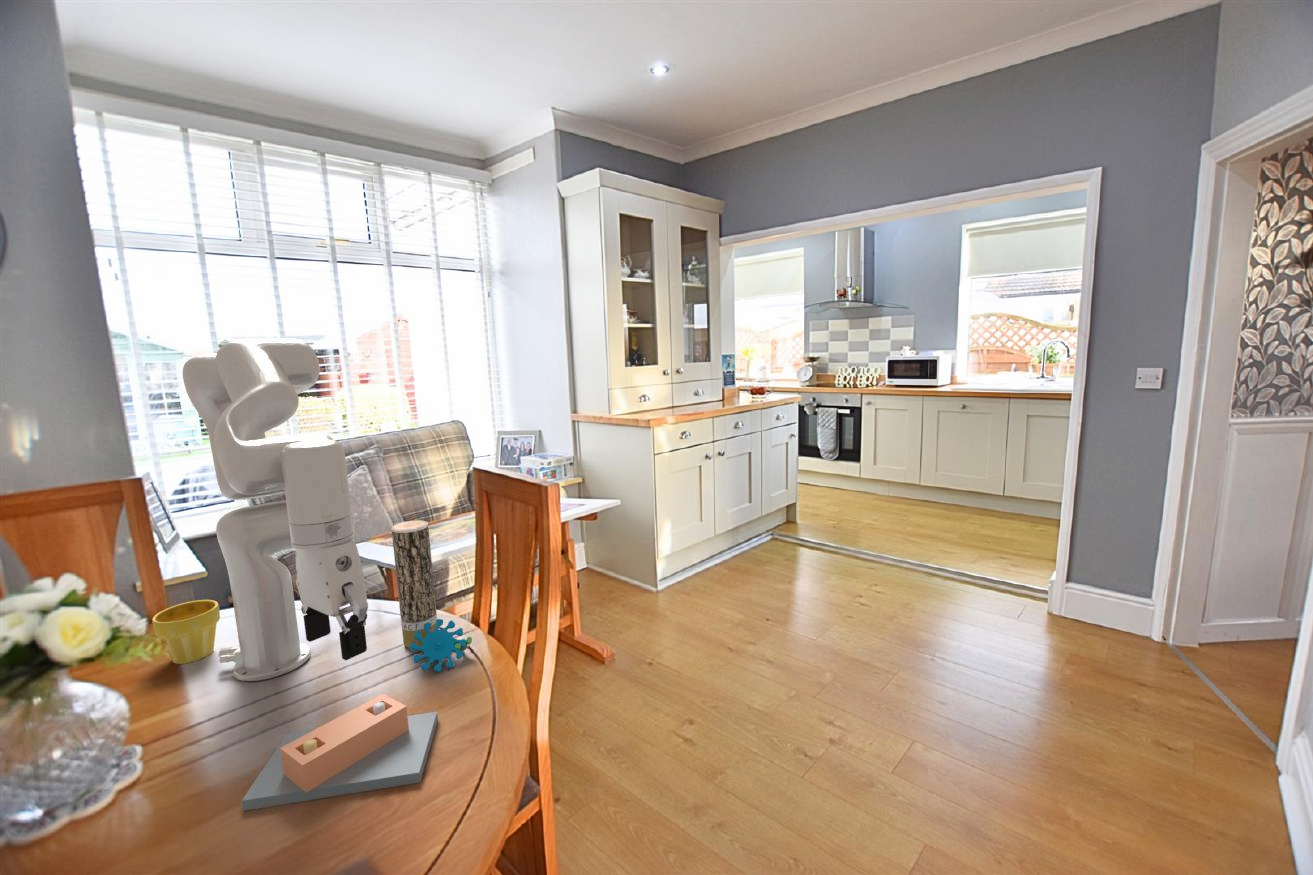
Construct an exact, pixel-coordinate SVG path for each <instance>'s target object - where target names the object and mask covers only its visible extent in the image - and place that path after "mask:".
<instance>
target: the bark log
mask: <svg viewBox="0 0 1313 875" xmlns="http://www.w3.org/2000/svg"><path fill="white" fill-rule="evenodd" d="M428 523H429V522H428V521H426V520H419V519H418V520H408V521H402V522H398V523H396V524H394V525H392V526H391V535H392V545H393V546H392V547H393V556H394V564H395V565H394V566H395V573H396V574H395V576H396V585H397V594H398V603H399V605H398V606H399V613H400V623H401V624H400V626H401V631H402V632H401V633H402V641H403V645H404V646H405V647H406V648H409V649H410V647H411V644H412V643H416V644H417V645H418V646H419V647H421V646H423V644H422V642H421V641H420V640H418V639H415V638H414V634H415V633H416V632H417V631H420V632H421V637H422V638H426V637H427V632H426V630H425V629H424V624H425V623H431V628H430V629H429V631H430V632H433V631H434V630H435V628H436V620H437V619H438V614H437V605H436V604H437V603H436V602H437V601H436V594H435V582H434V581H435V580H434V574H433V573H434V572H433V571H434V570H433V560H432V549H431V540H430V529H429V524H428Z"/></svg>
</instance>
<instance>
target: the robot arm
mask: <svg viewBox="0 0 1313 875" xmlns="http://www.w3.org/2000/svg"><path fill="white" fill-rule="evenodd" d="M320 371H321V370H320V361H319V359H318V356H317V354H316V352H315V350H314V349H313V347H312V346H310V345H309V344H308V343H307V342H305V341H304V340H301V339H298V338H297V339H296V338H244V339H236V340H231V341H229V342H226V343H224V344H223V345H222V346H221V347H219V349H218V350H217V352H216V353H209V354H201V355H197V356H195V357H192V358H190V359H188V360H186V362H184V364H183V367H182V379H183V384H184V388H185V391H186V394H187V396H188V398H189V400H190V402H191V403H192V405H193V407H194V409H195V410H196V412H197V413H198V415H199V416H200V418H201V420H202V421H203V423H204V425H205V427H206V430H207V434H208V438H209V444H210V448H211V449H210V450H211V454H212V460H213V465H214V466H213V467H214V472H215V476H216V481H217V484H218V489H219V491H220V492H221V494H222V495H223V496H224V497H225V498H226V499H228V500H233V501H242V500H252V499H256V498H263V497H264V498H265V497H269V496H274V495H281V494H284V495H285V499H283V500H278V501H274V502H266V503H261V504H256V505H254V504H253V505H250V506H249V505H248V506H244V507H240V508H236V509H234V510H231V511H228V512H227V513H225V514H224V515H223V516H222V517H221V518H219V520H218V521H217V523H216V527H215V532H216V538H217V541H218V545H219V547H220V550H221V552H222V555H223V558H224V559H223V560H224V562H225V565H226V570H227V573H228V579H229V584H230V592H231V598H232V603H233V609H234V610H233V612H234V617H235V624H236V632H237V638H238V643H239V644H238V645H237V646H234V647H233V646H228V647H221V648H220V649H219V651H218V656H219V663H220V664H223V663H229V662H234V663H235V665H234V666H233V668H232V674H233V677H234V678H235V679H236V680H238V681H242V682H258V681H264V680H268V679H272V678H275V677H279V676H282V675H285V674H288V673H289V672H292V671H294V670H296V669H298V668H299V667H300V666H302V665H303V664H305V663H306V662H307V661H308V659H309V658H310V657H311V649H310V646H309V645H308V644H305V643H301V642H300V634H299V633H300V632H299V626H298V619H297V612H296V603H295V597H294V590H293V589H294V588H293V582H292V575H291V572H290V570H289V569H288V567H287V566H286V565H285V564H283V563H282V562H281V561H279V559H276V558H274V557H273V554H277V553H279V552H280V553H281V552H282V551H286V550H292V549H295V551H294V552H295V569H296V572H295V573H296V579H295V584H296V588H297V590H298V599H299V601H300V602H301V604H302V605H301V607H300V609H301V610H300V611H301V612H302V615H303V616H302V617H303V623H304V632H305V640H306V641H307V642H309V643H311V642H313V641H316V640H318V639H321V638H323V637H325V636H328V635H330V634H331V623H330V622H331V621H330V617H334V618H335V619H336V621H337V623H338V625H339V627H340V630H341V631H340V632H338V635H339V644H340V651H341V652H340V653H341V659H342V660H344V661H348V660H350V659H353V658H355V657H356V656H359V655H361V654H363V653H365V652H367V651H368V646H367V637H366V636H367V635H366V628H365V626H366V625H367V621H366V620H367V618H368V608H369V603H368V597H367V590H366V583H365V578H364V571H363V566H362V562H361V561H362V560H361V558H360V554H359V550H358V546H357V543H356V541H355V539H354V537H355V533H354V531H355V530H354V523H353V522H354V521H353V513H352V506H351V505H352V504H351V497H350V487H349V478H348V469H347V460H346V452H345V449H344V446H343V445H342V443H340V442H339V441H337V440H335V439H334V438H332V436H330V435H328V434H327V433H321V432H320V433H305V434H296V435H286V436H277V437H267V438H266V432H268V431H270V430H273V429H275V428H277V427H279V426H281V425H282V424H284V423H286V422H287V421H288V420H290V419H291V418H292V417H293V416H294V415H295V413H296V412H297V410H298V408H299V395H300V394H301V393H304V392H305V391H307V390H309V389H311V388H312V387H313V386H315V384H316V383H317V381H318V379H319V377H320ZM347 605H348V606H347ZM344 606H346V607H344ZM350 613H352V615H350V617H349V618H348V620H347V619H346V617H345V615H348V614H350Z"/></svg>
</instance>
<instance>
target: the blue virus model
mask: <svg viewBox="0 0 1313 875" xmlns="http://www.w3.org/2000/svg"><path fill="white" fill-rule="evenodd" d="M443 625H444V619H442V618H437V620H436V628H435V630H434V631H433V632H430V631H429V629H430V628H431V623H425V624H424V629H425V630H426V632H427V637H426V638H422V637H421V632H420V631H417V632H416V633H415V634H414V638H415V639H418V640H420V641H421V642H422V644H423V646H421V647H419V646H418V645H417V644H416V643H412V644H411V647H410V648H409V649H410V651H411V652H414V651H420V652H422V653H423V654H422V655H420V654H418V653H417V654H413V656H412V658H413V663H414V664H416V663H419V662H420V661H421V660H424V659H429V661H426V662H423V663H422V664H421V665H420V667H421V669H422V670H424V671H425V672H426V671H428V669H429V668H430V666H431V665H432V664H433V663H434V662H436V661H438V663H437V664H436V665H435V666H434V668H433V671H434V672H436V673H441V672H442V667H443V666H442V663H443V662H444V660H445V659H448V661H447V663H446V667H447V669H450V668H453V667H455V661H454V660H453V659H452V655H451V654H452V653H455V654H456V655H455V657H456V659H457V660H460V659H461V658H462V657H463V656H464V652H465V651H466V650H467V648H468V645H471V644H472V642H473V641H472V640H473V638H472V636H468V637H466V639H465V638H463V639H457V638H454V636H458V637H462V636H464V630H463V628H462V627H459V628H458V629H456V630H455V631H448V630H449V629H450V630H451V629H454V628H455V627H456V622H454V621H453V620H449V622H448V624H447V625H446V626H445V627H444V628H442V629H439V627H441V626H443Z"/></svg>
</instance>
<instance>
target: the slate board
mask: <svg viewBox="0 0 1313 875" xmlns="http://www.w3.org/2000/svg"><path fill="white" fill-rule="evenodd" d="M373 711H374V715H375V716H376V715H378V714H380V713H382V712H383V711H385V703H383V702H380V703H377V704H375V705H374V706H373ZM407 716H408V725H409V730H408V731H407V732H405V733H403V734H402V735H400V736H398V737H397V738H395V739H393V740H392V741H390V742H389V743H387V744H385V745H384V746H382V747H380V748H379V749H377V750H375V751H374V752H372V753H371V754H369V755H367V756H366V757H364V758H362V759H361V760H359V761H357V762H356V763H354V764H353V765H351V766H349V767H348V768H346V769H344V770H343V771H341V772H339V773H338V774H336V775H334V776H333V777H331V778H330V779H328V780H326V781H325V782H323V783H321V784H320V785H318V786H316V787H315V788H313V789H312V790H310V791H308V792H307V793H306V792H305V791H304V790H302V789H301V788H300V787H299V786H297V785H296V784H295V783H294V782H292V781H291V780H290V779H289V778H287V777H286V776H285V775H284V774H283V767H282V760H281V753H280V748H281V747H283V746H285V745H287V744H289V743H291V742H293V741H294V740H296V739H298V738H300V737H302V736H304V735H306V734H308V733H309V732H311V731H313V730H315V729H316V728H313V729H305V730H299V731H292V732H291V731H290V732H287V733H286V734H285V736H284V737H283V739H282V740H281V741H280V743H279V744H278V746H277V747H276V749H275V751H274V752H273V754H272V755H271V756H270V758H269V759H268V761H267V762H266V764H265V765H264V767H263V769H262V770H261V771H260V773H259V774H258V776H257V777H256V779H255V780H254V781H253V783H252V785H251V786H250V787H249V789H248V790H247V792H246V793H245V795H244V797H243V798H242V799H241V807H242V811H243V812H245V811H251V810H257V809H264V808H269V807H270V808H271V807H276V806H282V805H289V804H294V803H301V802H308V801H314V800H319V799H325V798H326V799H327V798H332V797H338V796H343V795H344V796H345V795H349V794H350V795H351V794H355V793H356V794H357V793H362V792H368V791H374V790H382V789H386V788H393V787H400V786H405V785H412V784H417V783H421V781H422V777H423V774H424V770H425V767H426V765H427V764H426V763H427V760H428V756H429V752H430V749H431V747H432V746H431V745H432V742H433V740H434V735H435V733H436V728H437V724H438V721H439V719H438V718H439V717H438V711H433V712H432V711H431V712H426V713H419V714H413V715H407ZM303 748H304V755H307V754H308V753H310V752H312V751H314V750H315V749H317V740H315V739H311V740H308V741H306V742H305V743H304V744H303Z"/></svg>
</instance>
